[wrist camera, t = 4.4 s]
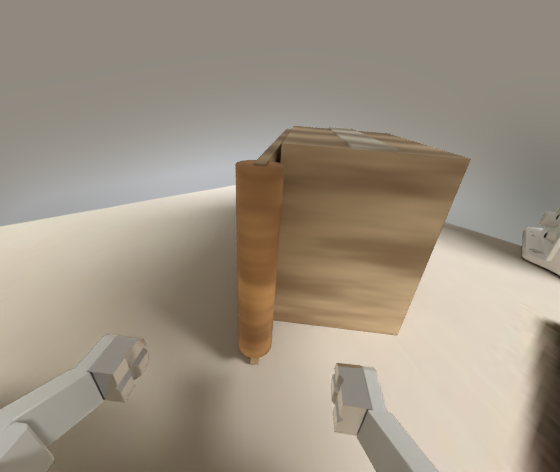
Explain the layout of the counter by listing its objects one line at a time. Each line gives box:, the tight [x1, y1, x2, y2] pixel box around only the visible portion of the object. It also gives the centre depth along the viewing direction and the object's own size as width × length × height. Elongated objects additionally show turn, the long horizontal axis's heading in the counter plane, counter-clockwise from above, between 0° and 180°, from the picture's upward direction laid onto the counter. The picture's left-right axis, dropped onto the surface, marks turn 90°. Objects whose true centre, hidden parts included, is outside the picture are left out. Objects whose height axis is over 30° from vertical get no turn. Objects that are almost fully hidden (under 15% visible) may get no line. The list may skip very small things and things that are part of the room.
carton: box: [273, 126, 471, 335], centre depth 27 cm, size 18×12×16 cm, turn 174°
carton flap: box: [236, 129, 291, 364], centre depth 25 cm, size 24×2×15 cm, turn 174°
